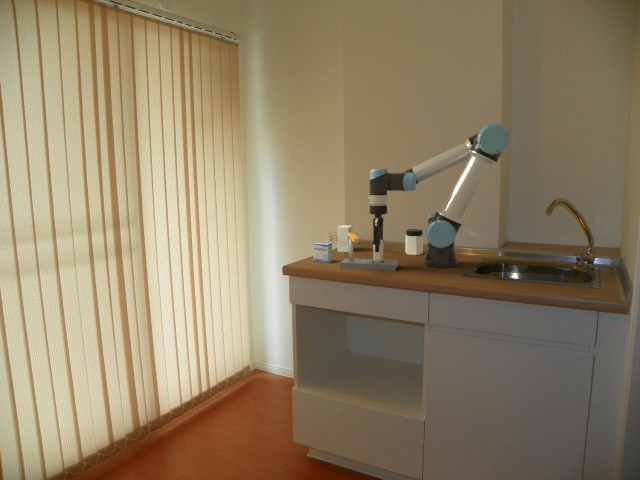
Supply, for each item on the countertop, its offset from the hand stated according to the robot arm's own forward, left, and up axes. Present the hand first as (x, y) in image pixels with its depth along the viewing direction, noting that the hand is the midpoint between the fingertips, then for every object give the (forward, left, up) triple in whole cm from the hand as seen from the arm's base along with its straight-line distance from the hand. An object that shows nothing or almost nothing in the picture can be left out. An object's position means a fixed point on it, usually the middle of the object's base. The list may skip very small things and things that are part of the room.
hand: (378, 258), depth 215 cm
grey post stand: (+4, 0, -5) cm, 6 cm away
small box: (+24, -40, -5) cm, 47 cm away
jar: (-12, -38, -5) cm, 40 cm away
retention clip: (+10, +7, +9) cm, 15 cm away
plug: (0, 0, -4) cm, 4 cm away
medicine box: (+28, -10, -5) cm, 30 cm away
